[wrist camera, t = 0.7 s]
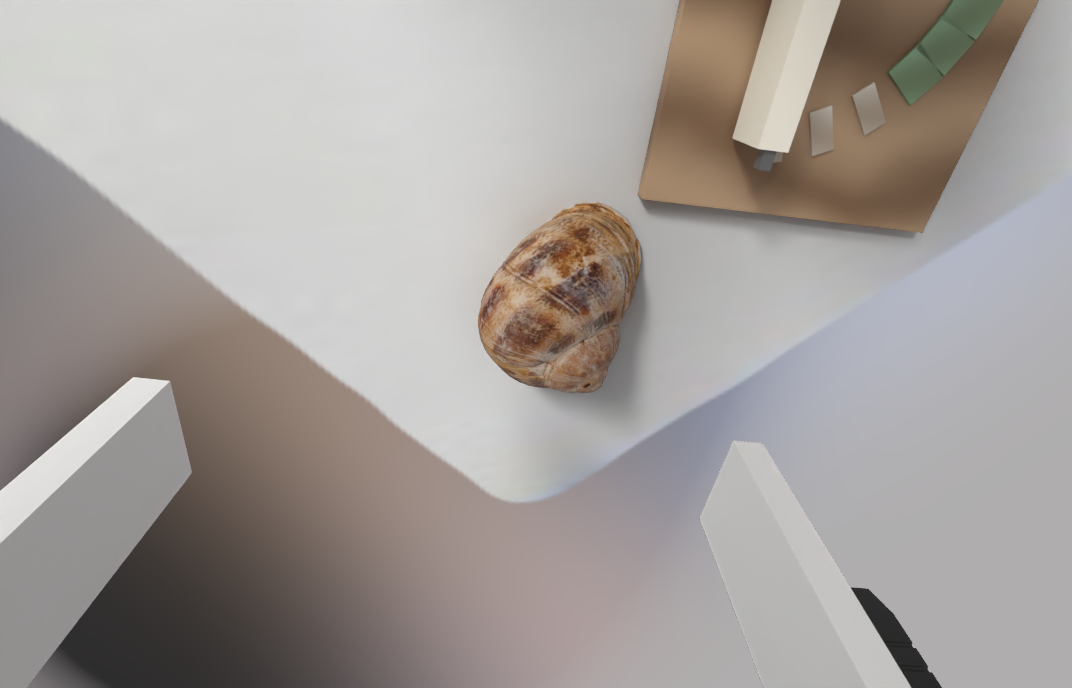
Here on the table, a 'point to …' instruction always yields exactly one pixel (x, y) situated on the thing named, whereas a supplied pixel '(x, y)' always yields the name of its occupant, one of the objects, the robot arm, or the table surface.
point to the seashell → (562, 300)
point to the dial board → (832, 109)
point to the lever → (783, 75)
